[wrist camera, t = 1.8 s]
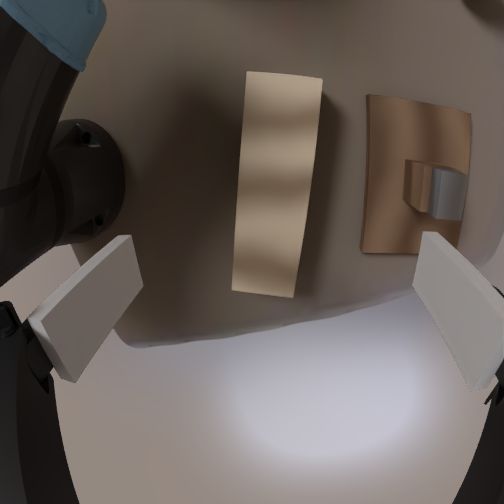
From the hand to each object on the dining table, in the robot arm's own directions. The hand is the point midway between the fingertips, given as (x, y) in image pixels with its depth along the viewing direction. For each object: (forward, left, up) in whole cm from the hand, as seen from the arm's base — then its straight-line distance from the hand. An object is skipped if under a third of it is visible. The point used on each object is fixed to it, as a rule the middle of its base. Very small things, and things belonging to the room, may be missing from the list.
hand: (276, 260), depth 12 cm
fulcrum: (+14, +1, -17) cm, 23 cm away
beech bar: (-1, 0, -18) cm, 18 cm away
